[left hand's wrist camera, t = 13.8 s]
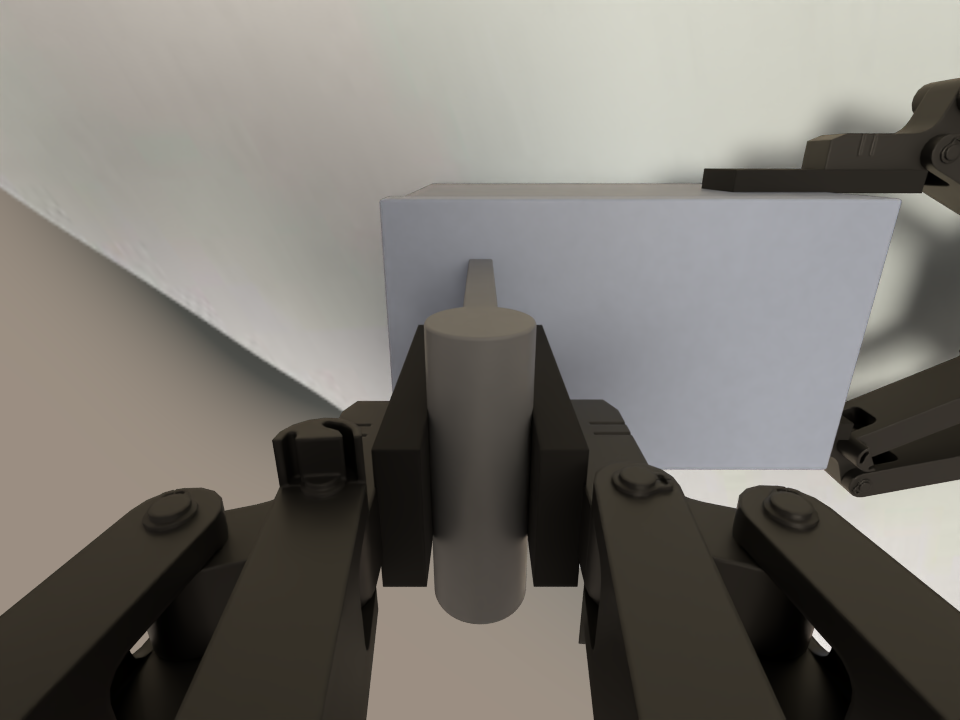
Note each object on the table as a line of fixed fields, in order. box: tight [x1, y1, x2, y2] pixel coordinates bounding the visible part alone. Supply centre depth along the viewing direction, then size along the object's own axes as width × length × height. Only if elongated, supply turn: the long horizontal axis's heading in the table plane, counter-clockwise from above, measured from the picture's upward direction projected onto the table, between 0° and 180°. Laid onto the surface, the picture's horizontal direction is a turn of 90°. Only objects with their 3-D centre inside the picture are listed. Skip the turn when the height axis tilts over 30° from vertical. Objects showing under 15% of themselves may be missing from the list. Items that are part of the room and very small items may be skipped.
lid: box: [380, 196, 901, 624], centre depth 13 cm, size 15×9×9 cm, turn 90°
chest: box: [406, 184, 864, 196], centre depth 22 cm, size 14×9×10 cm, turn 90°
